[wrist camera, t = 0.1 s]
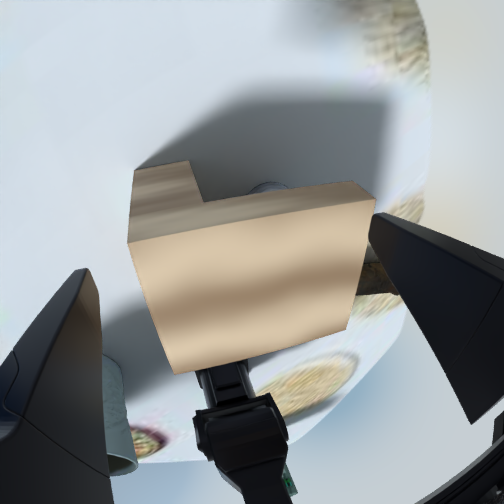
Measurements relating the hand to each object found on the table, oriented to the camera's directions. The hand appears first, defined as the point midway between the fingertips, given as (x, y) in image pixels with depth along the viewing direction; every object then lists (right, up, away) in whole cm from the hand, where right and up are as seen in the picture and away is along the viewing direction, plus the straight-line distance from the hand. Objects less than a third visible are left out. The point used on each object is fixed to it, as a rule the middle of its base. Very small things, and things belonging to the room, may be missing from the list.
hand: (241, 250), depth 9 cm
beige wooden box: (-2, +3, +16) cm, 17 cm away
